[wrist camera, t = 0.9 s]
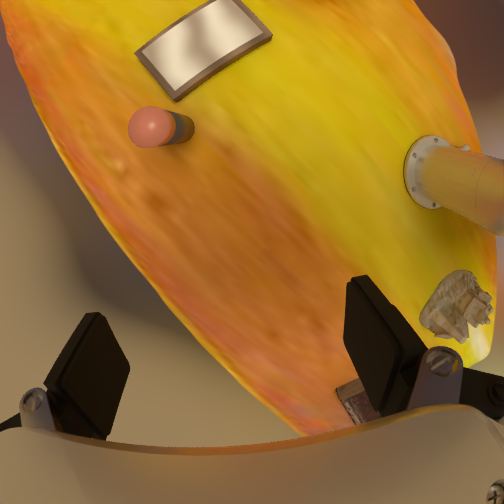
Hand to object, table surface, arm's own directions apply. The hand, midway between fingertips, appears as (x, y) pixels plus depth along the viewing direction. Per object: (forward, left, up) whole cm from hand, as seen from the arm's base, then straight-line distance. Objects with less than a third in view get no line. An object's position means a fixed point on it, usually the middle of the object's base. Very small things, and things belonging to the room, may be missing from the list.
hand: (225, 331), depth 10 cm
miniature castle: (-24, +46, -32) cm, 61 cm away
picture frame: (-8, -20, -31) cm, 38 cm away
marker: (+2, -11, -31) cm, 33 cm away
